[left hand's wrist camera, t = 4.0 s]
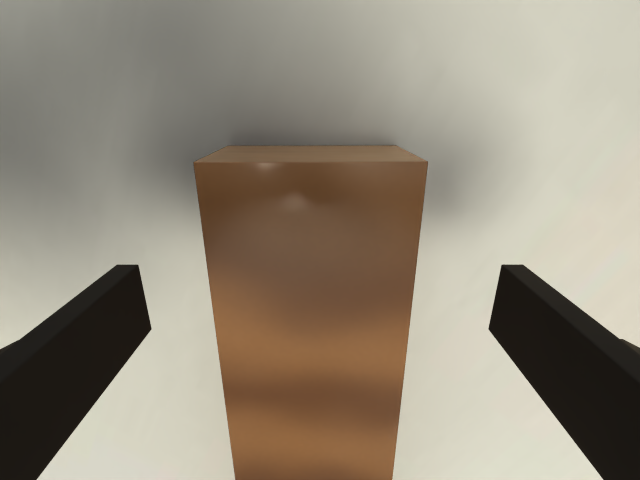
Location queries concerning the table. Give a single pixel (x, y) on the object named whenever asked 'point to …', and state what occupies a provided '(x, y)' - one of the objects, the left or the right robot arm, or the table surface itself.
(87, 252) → the table surface
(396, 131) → the table surface
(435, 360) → the table surface
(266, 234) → the slab
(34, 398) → the left robot arm
